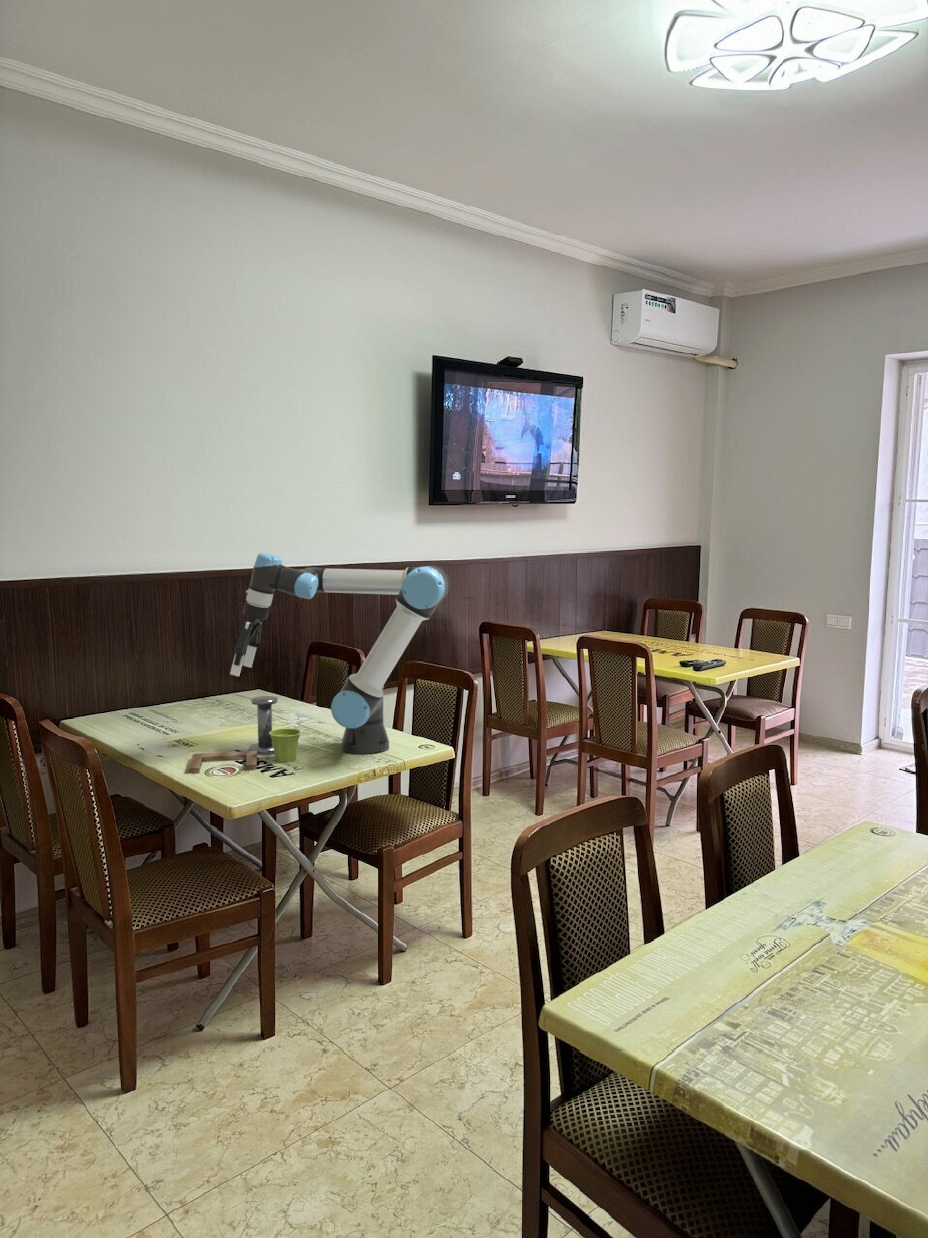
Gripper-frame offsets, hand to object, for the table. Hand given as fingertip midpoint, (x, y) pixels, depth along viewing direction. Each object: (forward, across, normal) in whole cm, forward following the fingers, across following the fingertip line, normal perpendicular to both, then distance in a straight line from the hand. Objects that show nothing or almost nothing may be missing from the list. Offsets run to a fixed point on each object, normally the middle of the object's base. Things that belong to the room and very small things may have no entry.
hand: (241, 670), depth 271 cm
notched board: (+26, +11, +4) cm, 28 cm away
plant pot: (+22, +6, +21) cm, 31 cm away
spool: (+24, -4, +13) cm, 27 cm away
